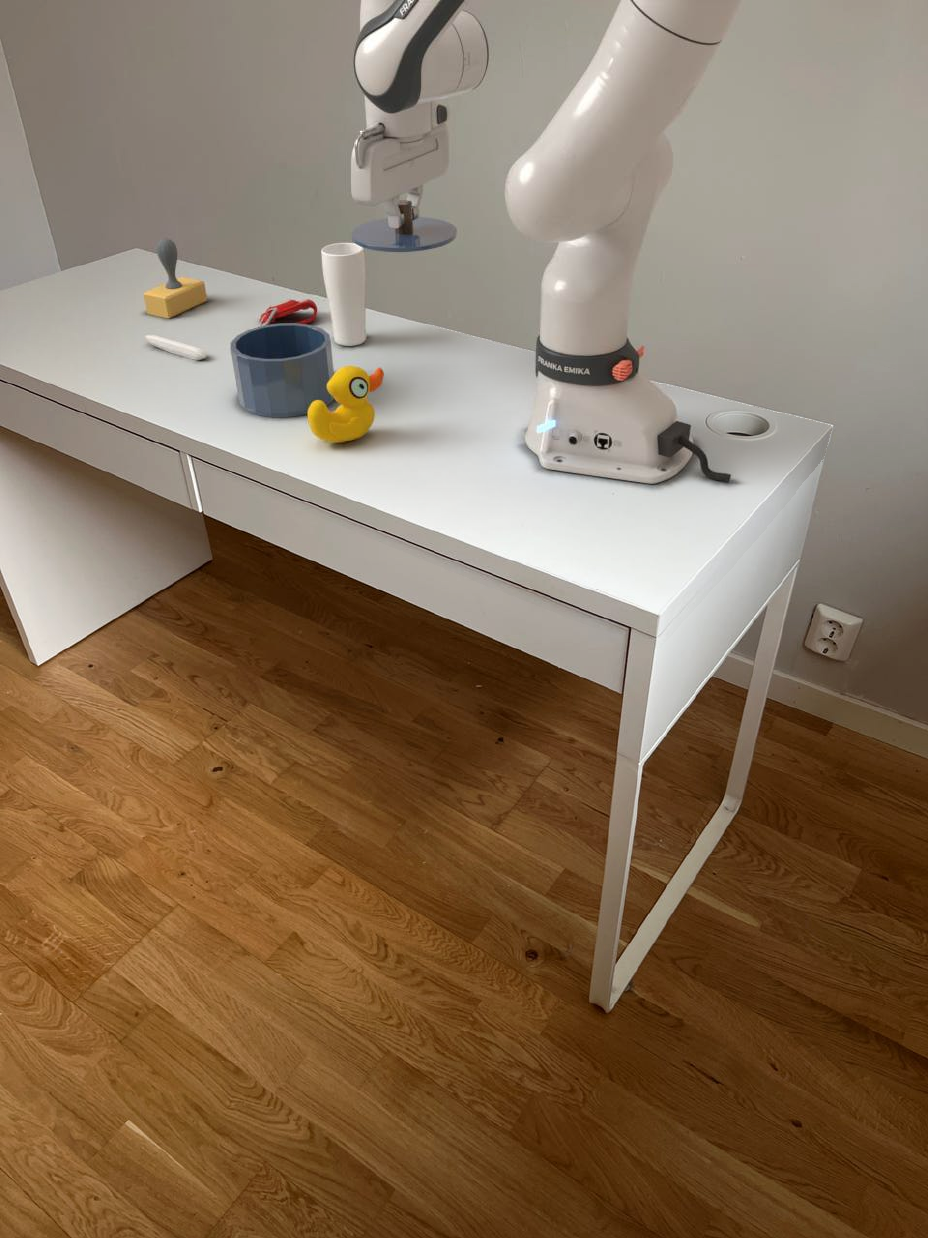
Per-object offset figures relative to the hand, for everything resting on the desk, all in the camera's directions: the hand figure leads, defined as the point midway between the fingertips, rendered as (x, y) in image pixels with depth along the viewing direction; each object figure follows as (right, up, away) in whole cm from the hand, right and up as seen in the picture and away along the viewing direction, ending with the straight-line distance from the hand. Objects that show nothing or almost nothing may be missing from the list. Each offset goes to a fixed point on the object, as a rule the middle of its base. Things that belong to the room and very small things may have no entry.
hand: (404, 222), depth 145 cm
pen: (-39, -13, +20) cm, 46 cm away
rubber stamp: (-43, -1, +37) cm, 57 cm away
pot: (-18, -23, +6) cm, 30 cm away
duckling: (-7, -32, -5) cm, 33 cm away
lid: (0, -1, +1) cm, 2 cm away
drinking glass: (-10, -11, +23) cm, 27 cm away
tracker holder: (-23, -6, +29) cm, 38 cm away
